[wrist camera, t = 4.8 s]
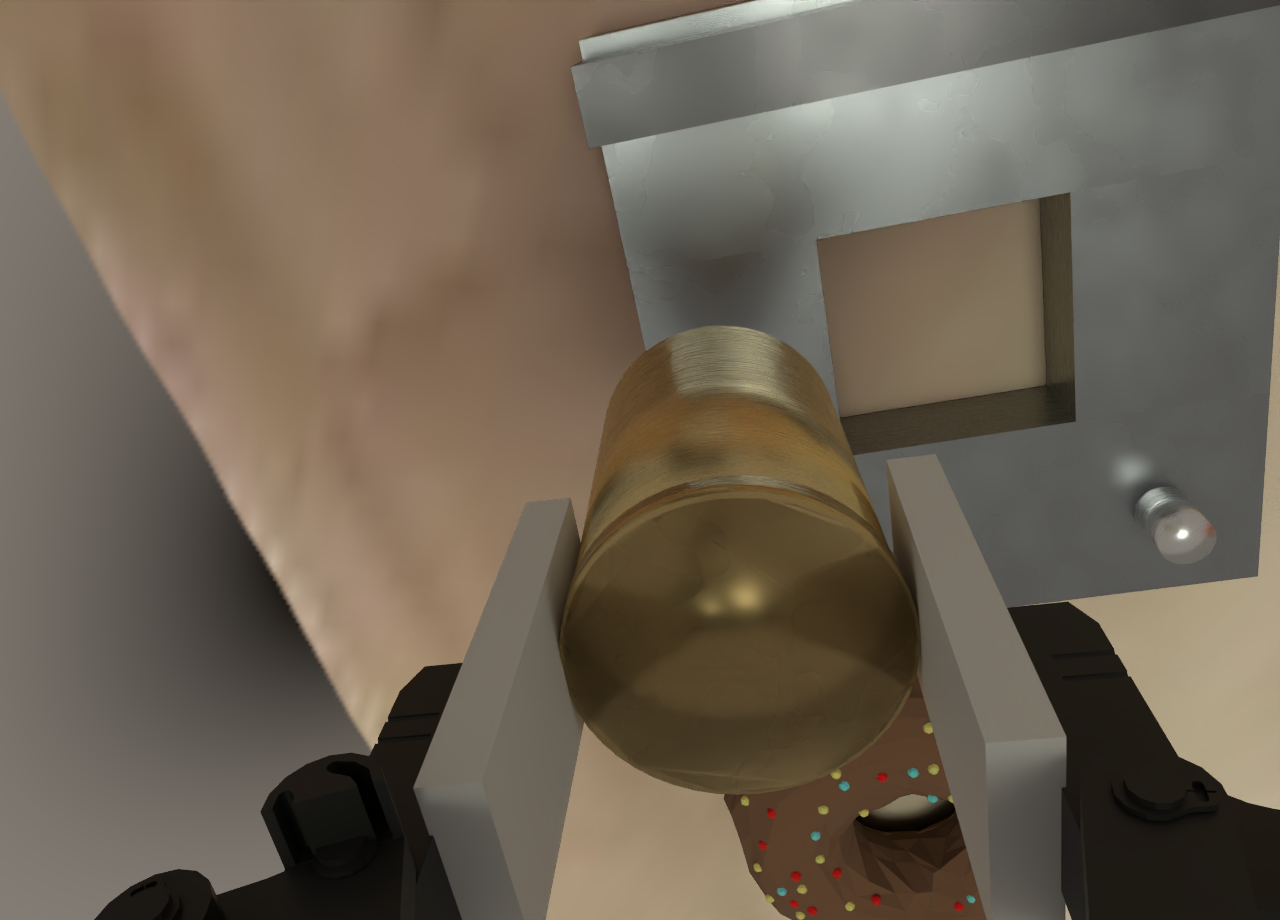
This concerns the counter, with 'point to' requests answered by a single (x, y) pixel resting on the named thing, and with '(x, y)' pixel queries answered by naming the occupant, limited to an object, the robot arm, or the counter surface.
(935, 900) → the donut
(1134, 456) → the jig
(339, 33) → the counter surface
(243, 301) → the counter surface
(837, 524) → the amber grooved cylinder
